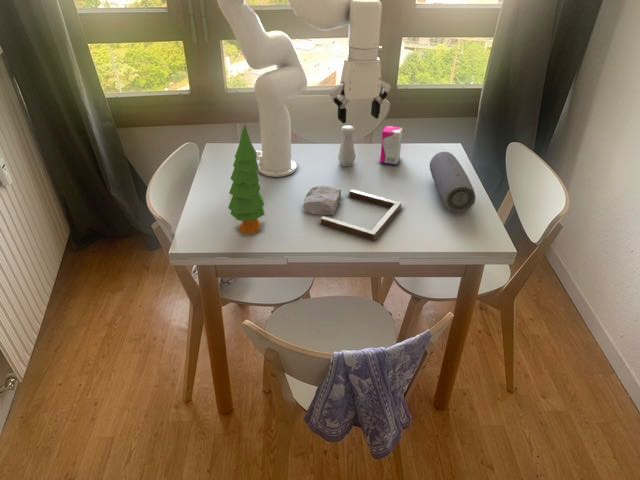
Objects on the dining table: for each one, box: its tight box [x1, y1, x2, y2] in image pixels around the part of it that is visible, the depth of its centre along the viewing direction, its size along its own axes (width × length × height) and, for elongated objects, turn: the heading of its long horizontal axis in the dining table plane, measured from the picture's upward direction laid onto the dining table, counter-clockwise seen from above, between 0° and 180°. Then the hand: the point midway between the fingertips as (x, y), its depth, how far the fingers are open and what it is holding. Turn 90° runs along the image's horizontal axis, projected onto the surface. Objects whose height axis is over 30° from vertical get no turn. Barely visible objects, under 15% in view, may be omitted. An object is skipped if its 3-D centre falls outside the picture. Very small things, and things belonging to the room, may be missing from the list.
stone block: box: [303, 185, 342, 216], centre depth 144 cm, size 12×5×10 cm
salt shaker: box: [337, 125, 356, 167], centre depth 163 cm, size 6×6×13 cm
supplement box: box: [379, 125, 404, 166], centre depth 165 cm, size 6×6×12 cm
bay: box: [320, 188, 402, 242], centre depth 139 cm, size 16×19×2 cm
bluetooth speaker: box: [429, 151, 476, 213], centre depth 146 cm, size 23×9×10 cm, turn 1°
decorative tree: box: [227, 124, 266, 236], centre depth 125 cm, size 10×9×30 cm
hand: (358, 119), depth 133 cm, fingers open, 9 cm apart
